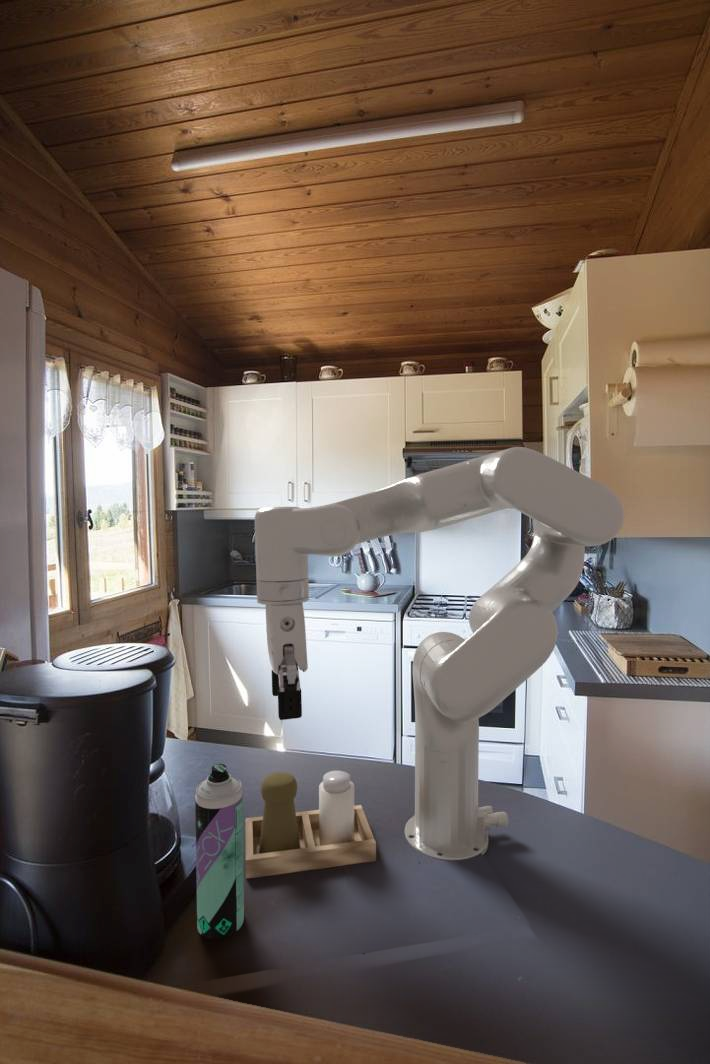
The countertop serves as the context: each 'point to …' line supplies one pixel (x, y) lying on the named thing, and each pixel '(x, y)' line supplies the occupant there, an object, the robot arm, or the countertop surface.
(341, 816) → the salt shaker
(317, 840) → the caddy
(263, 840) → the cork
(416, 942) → the countertop surface
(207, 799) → the spray can
